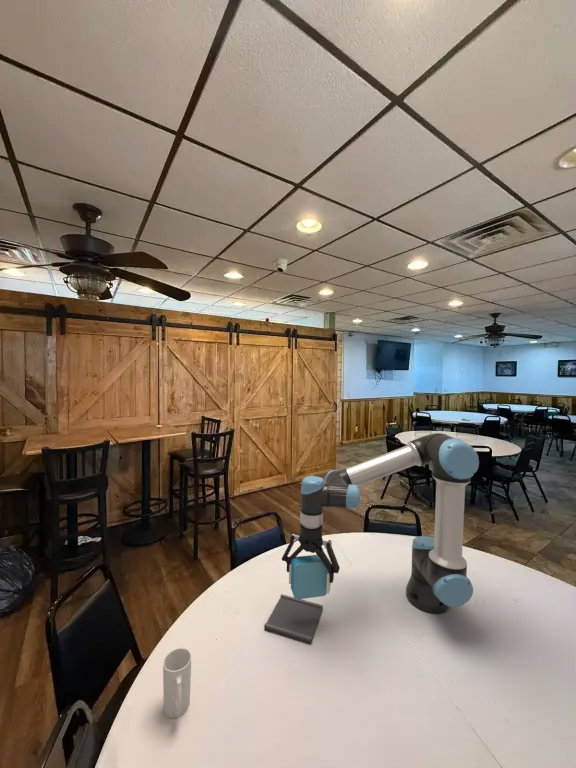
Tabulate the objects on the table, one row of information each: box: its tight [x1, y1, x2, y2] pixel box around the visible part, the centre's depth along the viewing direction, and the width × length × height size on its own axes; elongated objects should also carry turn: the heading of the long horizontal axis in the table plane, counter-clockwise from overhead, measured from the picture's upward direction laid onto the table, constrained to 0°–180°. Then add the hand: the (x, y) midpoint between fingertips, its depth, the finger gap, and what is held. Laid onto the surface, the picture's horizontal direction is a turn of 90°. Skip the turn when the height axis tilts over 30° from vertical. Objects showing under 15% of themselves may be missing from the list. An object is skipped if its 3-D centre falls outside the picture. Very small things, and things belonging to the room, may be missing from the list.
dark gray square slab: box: [263, 593, 324, 646], centre depth 110 cm, size 16×16×2 cm
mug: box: [162, 647, 192, 719], centre depth 79 cm, size 10×7×12 cm, turn 23°
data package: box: [290, 554, 328, 600], centre depth 108 cm, size 12×4×12 cm, turn 103°
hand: (309, 586), depth 108 cm, fingers closed on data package, 12 cm apart
